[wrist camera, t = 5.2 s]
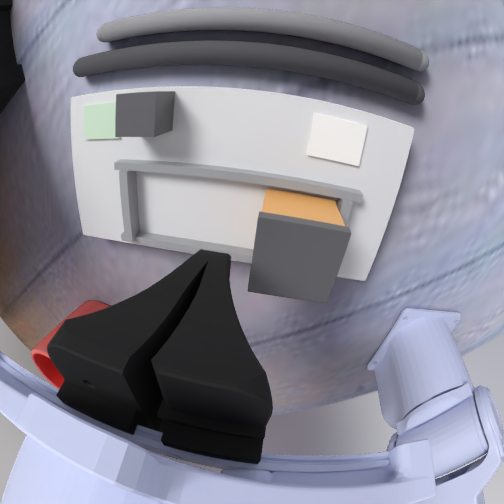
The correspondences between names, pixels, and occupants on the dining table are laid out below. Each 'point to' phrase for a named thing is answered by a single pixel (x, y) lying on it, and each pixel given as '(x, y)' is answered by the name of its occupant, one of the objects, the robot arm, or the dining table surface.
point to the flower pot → (40, 350)
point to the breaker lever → (297, 246)
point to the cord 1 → (267, 29)
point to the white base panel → (229, 166)
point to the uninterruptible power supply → (8, 58)
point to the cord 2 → (254, 63)
